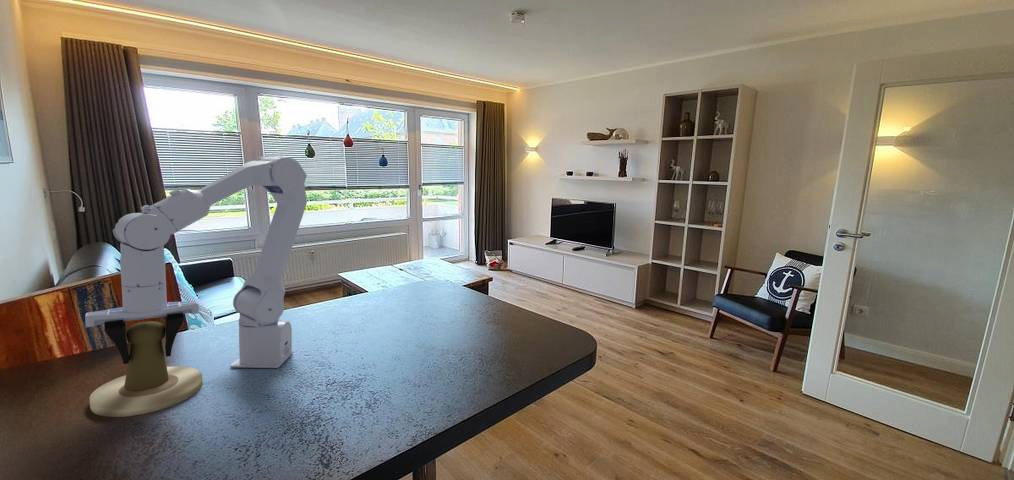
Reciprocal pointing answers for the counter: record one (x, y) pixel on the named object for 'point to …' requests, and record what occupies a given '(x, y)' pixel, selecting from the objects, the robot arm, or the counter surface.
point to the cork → (146, 356)
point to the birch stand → (145, 394)
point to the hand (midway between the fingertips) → (148, 358)
